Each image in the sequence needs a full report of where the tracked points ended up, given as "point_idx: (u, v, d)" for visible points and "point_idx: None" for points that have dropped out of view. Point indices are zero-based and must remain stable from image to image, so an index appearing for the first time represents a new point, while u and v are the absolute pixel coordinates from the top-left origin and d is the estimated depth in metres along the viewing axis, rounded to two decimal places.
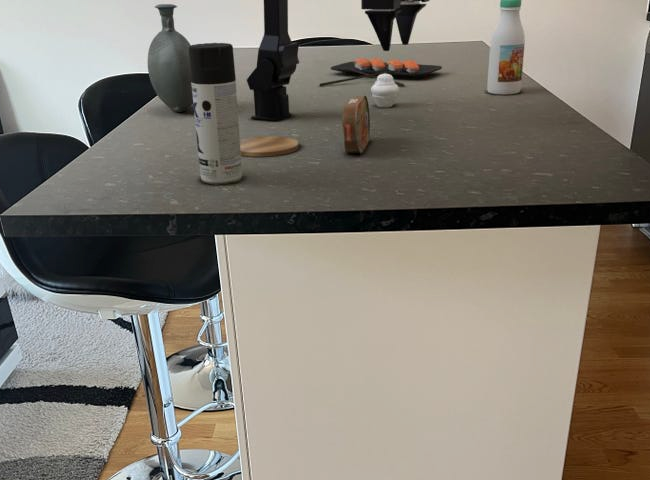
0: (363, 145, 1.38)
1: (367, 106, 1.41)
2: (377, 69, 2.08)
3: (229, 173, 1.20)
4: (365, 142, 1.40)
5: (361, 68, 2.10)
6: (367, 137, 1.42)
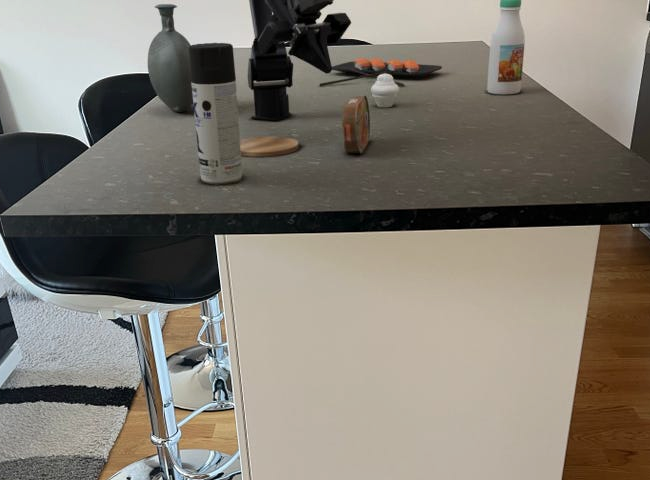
0: (363, 145, 1.38)
1: (367, 106, 1.41)
2: (377, 69, 2.08)
3: (229, 173, 1.20)
4: (365, 142, 1.40)
5: (361, 68, 2.10)
6: (367, 137, 1.42)
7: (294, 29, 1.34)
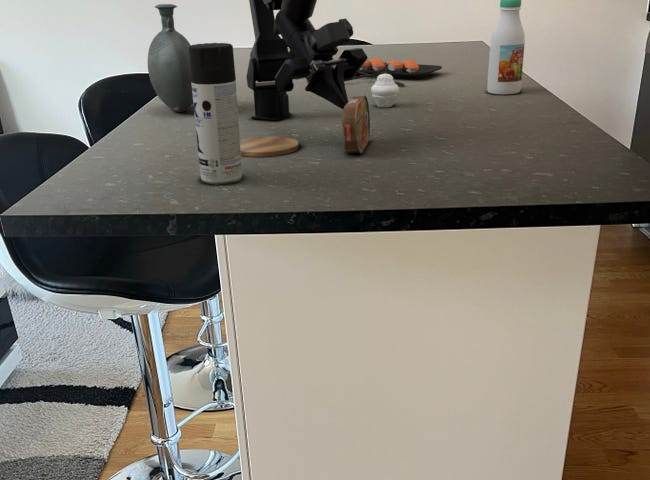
0: (363, 145, 1.38)
1: (367, 106, 1.41)
2: (377, 69, 2.08)
3: (229, 173, 1.20)
4: (365, 142, 1.40)
5: (361, 68, 2.10)
6: (367, 137, 1.42)
7: (311, 66, 1.34)
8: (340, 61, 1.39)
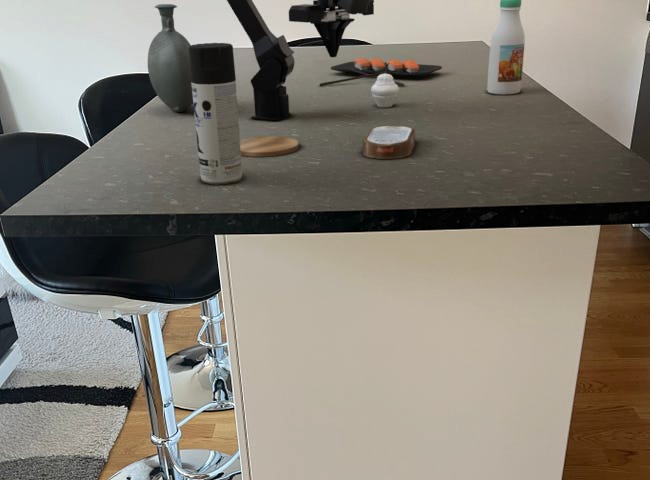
0: None
1: None
2: (377, 69, 2.08)
3: (229, 173, 1.20)
4: None
5: (361, 68, 2.10)
6: None
7: (324, 13, 1.49)
8: None
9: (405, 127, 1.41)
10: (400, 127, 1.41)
